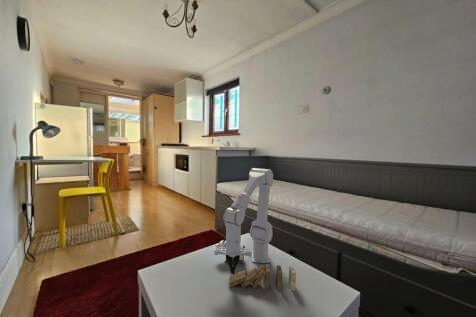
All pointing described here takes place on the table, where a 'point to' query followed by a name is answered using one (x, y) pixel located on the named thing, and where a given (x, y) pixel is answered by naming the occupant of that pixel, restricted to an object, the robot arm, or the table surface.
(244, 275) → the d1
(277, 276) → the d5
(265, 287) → the d4
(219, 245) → the giant panda
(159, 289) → the table surface
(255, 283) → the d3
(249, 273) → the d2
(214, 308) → the table surface
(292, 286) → the maple tile
